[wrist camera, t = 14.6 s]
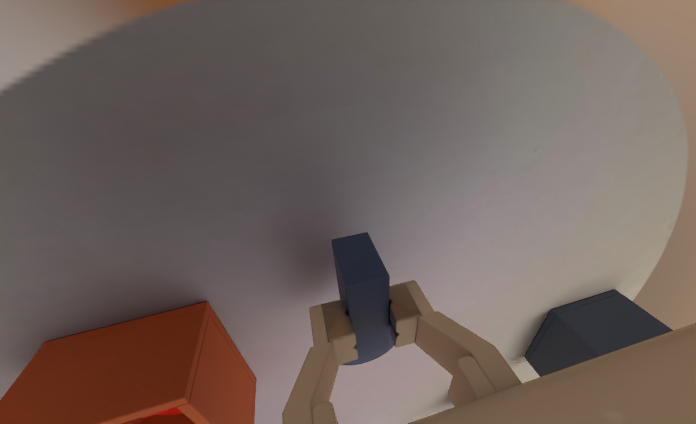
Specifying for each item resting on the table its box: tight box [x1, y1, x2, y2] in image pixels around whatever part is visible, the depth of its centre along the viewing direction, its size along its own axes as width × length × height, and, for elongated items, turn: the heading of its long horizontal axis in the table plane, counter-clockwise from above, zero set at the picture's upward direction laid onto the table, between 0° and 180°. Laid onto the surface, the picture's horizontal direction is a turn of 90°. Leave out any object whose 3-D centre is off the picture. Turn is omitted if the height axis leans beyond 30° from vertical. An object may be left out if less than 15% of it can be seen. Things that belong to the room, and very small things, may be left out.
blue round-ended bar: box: [331, 232, 394, 365], centre depth 12 cm, size 9×4×3 cm, turn 5°
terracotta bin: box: [0, 302, 256, 424], centre depth 17 cm, size 11×9×6 cm
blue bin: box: [525, 290, 673, 377], centre depth 31 cm, size 11×9×6 cm
